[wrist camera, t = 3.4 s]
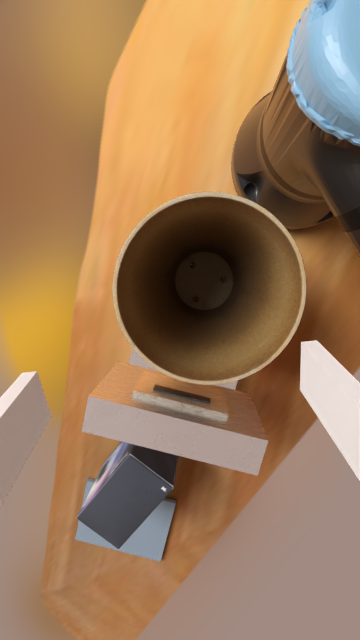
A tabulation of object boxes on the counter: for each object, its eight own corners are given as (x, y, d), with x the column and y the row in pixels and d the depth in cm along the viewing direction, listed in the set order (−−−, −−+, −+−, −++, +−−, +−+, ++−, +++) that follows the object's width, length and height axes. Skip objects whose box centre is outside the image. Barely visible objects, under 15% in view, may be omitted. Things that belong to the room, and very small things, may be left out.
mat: (88, 478, 46) (87, 480, 45) (176, 500, 45) (175, 503, 45) (76, 536, 47) (75, 539, 47) (161, 557, 47) (160, 561, 47)
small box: (145, 407, 43) (128, 451, 33) (183, 435, 44) (177, 487, 33) (101, 461, 45) (72, 519, 35) (138, 488, 46) (120, 553, 35)
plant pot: (126, 305, 41) (81, 330, 25) (181, 199, 39) (168, 153, 23) (226, 360, 42) (242, 418, 26) (287, 258, 39) (347, 253, 23)
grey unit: (136, 337, 42) (89, 389, 24) (240, 362, 41) (270, 434, 24) (131, 362, 42) (81, 431, 25) (233, 387, 42) (257, 475, 24)
